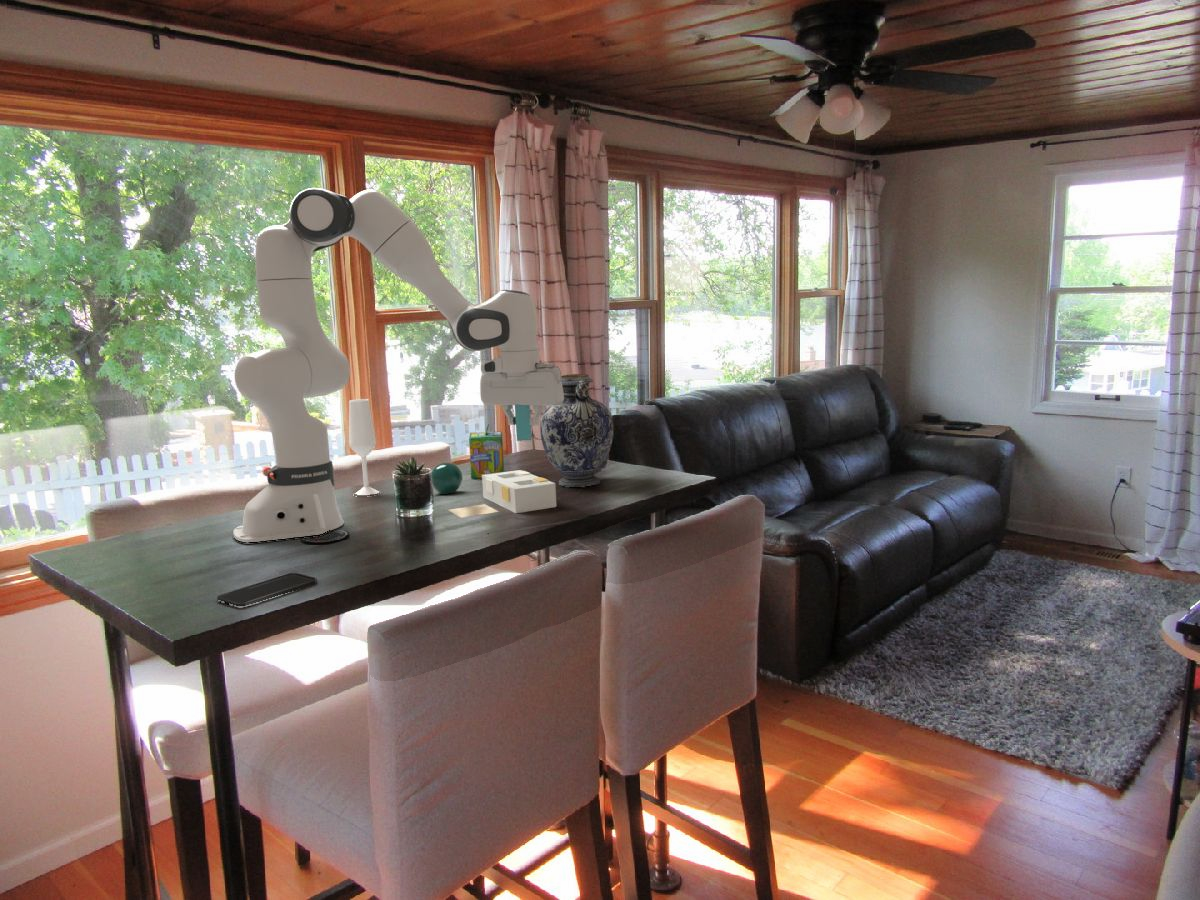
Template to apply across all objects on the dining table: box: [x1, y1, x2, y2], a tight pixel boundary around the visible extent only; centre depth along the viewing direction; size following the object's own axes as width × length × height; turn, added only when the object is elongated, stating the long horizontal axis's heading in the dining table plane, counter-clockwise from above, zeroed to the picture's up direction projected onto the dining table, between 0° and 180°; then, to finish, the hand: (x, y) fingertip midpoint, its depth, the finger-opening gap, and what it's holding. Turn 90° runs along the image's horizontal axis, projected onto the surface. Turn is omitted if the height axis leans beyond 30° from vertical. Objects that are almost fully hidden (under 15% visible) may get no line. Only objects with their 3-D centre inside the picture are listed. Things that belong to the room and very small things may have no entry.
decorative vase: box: [539, 373, 614, 488], centre depth 222 cm, size 21×19×28 cm
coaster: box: [447, 503, 500, 519], centre depth 197 cm, size 9×9×1 cm
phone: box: [216, 572, 319, 606], centre depth 147 cm, size 8×1×15 cm
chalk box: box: [468, 421, 505, 480], centre depth 239 cm, size 9×9×15 cm
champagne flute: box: [348, 398, 380, 495], centre depth 220 cm, size 7×7×24 cm
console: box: [481, 469, 557, 514], centre depth 204 cm, size 10×20×6 cm, turn 28°
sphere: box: [430, 461, 463, 495], centre depth 218 cm, size 8×8×8 cm
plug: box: [514, 405, 533, 442], centre depth 196 cm, size 3×3×9 cm
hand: (523, 425), depth 197 cm, fingers closed on plug, 4 cm apart
